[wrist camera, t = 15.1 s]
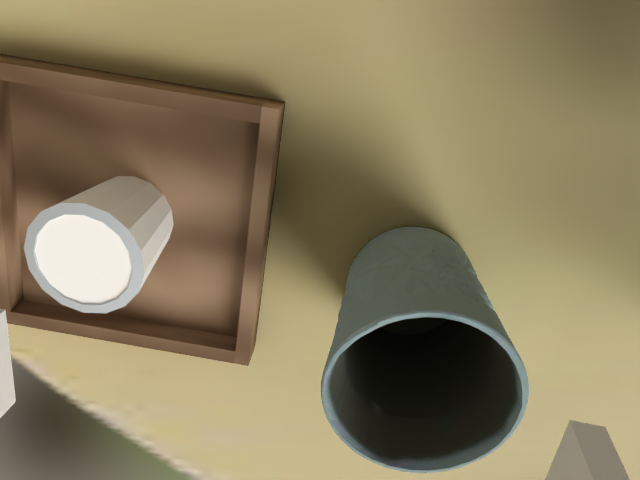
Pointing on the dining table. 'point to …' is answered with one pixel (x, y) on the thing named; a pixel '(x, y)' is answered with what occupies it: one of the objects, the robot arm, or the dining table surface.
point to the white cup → (99, 244)
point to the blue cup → (420, 358)
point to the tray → (161, 171)
